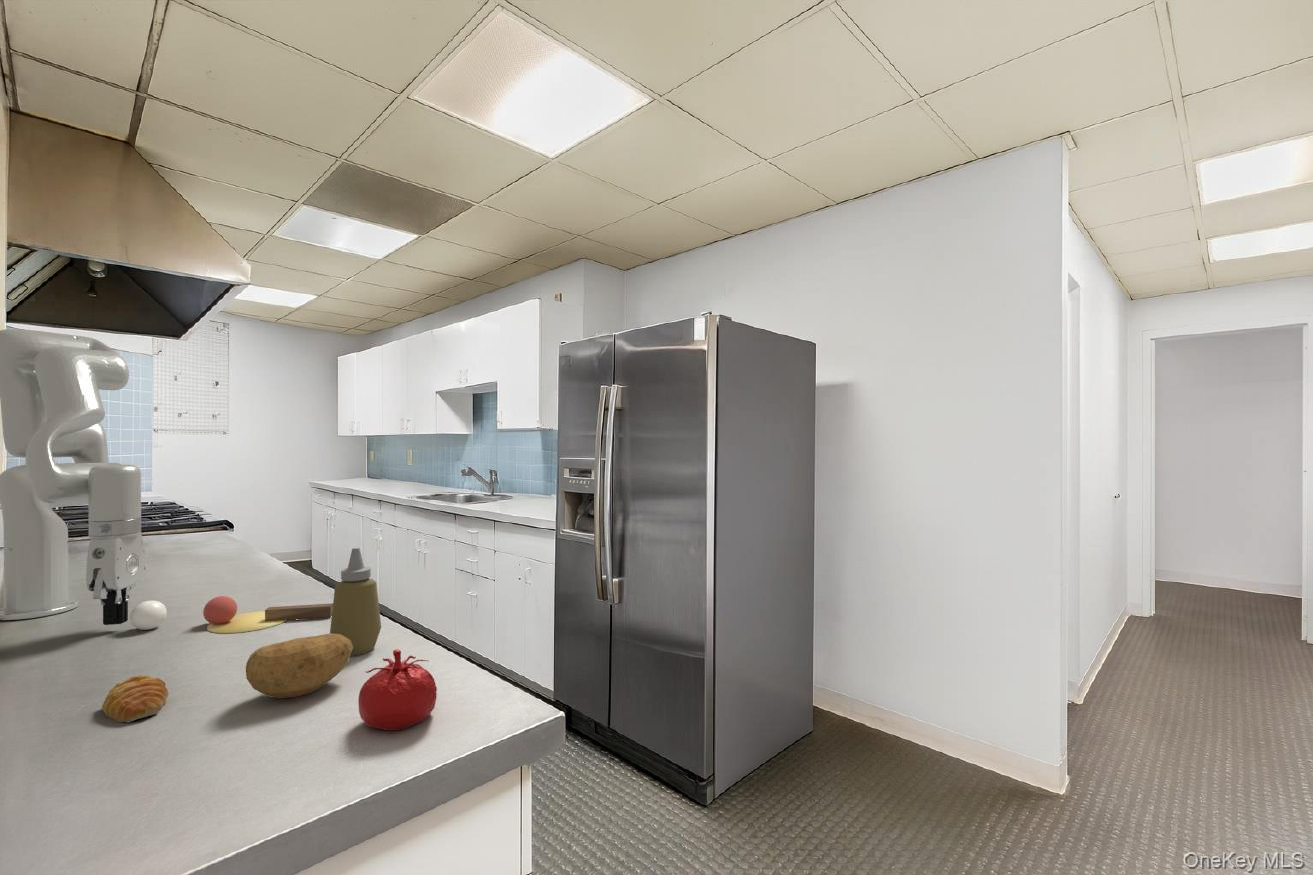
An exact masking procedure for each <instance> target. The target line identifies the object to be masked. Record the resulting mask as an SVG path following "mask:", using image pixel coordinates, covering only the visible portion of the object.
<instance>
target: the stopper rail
mask: <svg viewBox="0 0 1313 875" xmlns="http://www.w3.org/2000/svg"><path fill="white" fill-rule="evenodd" d="M332 609H333V603H317V604H299V605H298V604H297V605H286V606H285V605H284V606H269V607H267V608H266V609H264V611H265V621H278V620H293V621H297V620H296V619H308V620H320V619H321V620H322V618H324V619H331V618H332V617H331V616H332ZM330 617H331V618H330Z"/></svg>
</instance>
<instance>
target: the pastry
mask: <svg viewBox="0 0 1313 875" xmlns="http://www.w3.org/2000/svg"><path fill="white" fill-rule="evenodd" d="M169 694H170V692H169V691H168V689H167V687H166V682H165V681H164V680H162V679H160V678H157V677H153V676H151V675H136V676H131V677H129V678H126V679H125V680H124V681H121V682H118V683H116V685H115V686H114V687H112V688H111V689H110V690H109V691H108V694H107V695H106V697H105V699H104V701H103V703H102V706H101V709H102V711H103V713H104V714H105V716H106V717H108V718H109V719H112V720H114V721H116V722H119V723H122V722H123V723H131V722H134V721H135V720H136V721H137V720H138V719H142V718H146V717H149V716H153V715H157V714H158V713H159V711H160V710H161V709H162V708H163V707H164V706H165V705H166V703H167V702H166V701H167V699H168V697H169Z"/></svg>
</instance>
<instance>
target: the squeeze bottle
mask: <svg viewBox="0 0 1313 875" xmlns="http://www.w3.org/2000/svg"><path fill="white" fill-rule="evenodd" d="M362 556H363V555H362V552H361V548H360V547H353V548H351V552H350V557H349V562H348V565H347V568H344V569H342V570H341V571H340V579H341V581H339V582H338V583H337V584H336V585H334V592H333V601H332V602H333V609H332V617H331V618H330V628H329V629H330V630H329V634H340V635H343V636H345V637H347V638H348V639H349V640H351V642H352V645H353V649H352V652H351V654H350V656H351V657H352V656H358V655H363V654H366V653H368V652H371V651H372V650H374V649H375V647H376V645H377V642H378V639H379V638H378V637H379V635H380V633H381V629H382V622H381V620H382V619H381V612H380V611H381V610H380V603H379V596H378V594H379V593H378V587H377V586H378V584H377V581H376V580H374V579H373V578H371V572H372V571H371V570H372V569H371V567H370V566H365V564H364V561H363V557H362Z"/></svg>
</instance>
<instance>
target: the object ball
mask: <svg viewBox="0 0 1313 875" xmlns="http://www.w3.org/2000/svg"><path fill="white" fill-rule="evenodd" d="M202 612H203V613H202V614H203V617H204V620H206V622H208V623H209V624H216V625H218V624H224V623H227V622H228V621H230V620H231V619H232V618H233V617H234V616H235V615H237V612H238V605H237V602H236V601H235V600H234V598H232V597H230V596H226V595H221V596H217V597H213V598H211V599H210V600H209V601H207V602H206V604H205V606H204V607H203V610H202Z"/></svg>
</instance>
